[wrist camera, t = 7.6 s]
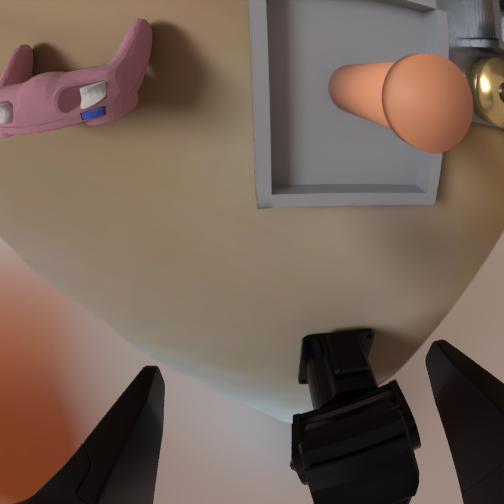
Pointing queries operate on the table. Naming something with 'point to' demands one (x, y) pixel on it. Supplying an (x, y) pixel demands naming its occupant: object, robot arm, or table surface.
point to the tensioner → (479, 54)
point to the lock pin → (409, 99)
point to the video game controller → (73, 88)
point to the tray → (325, 111)
